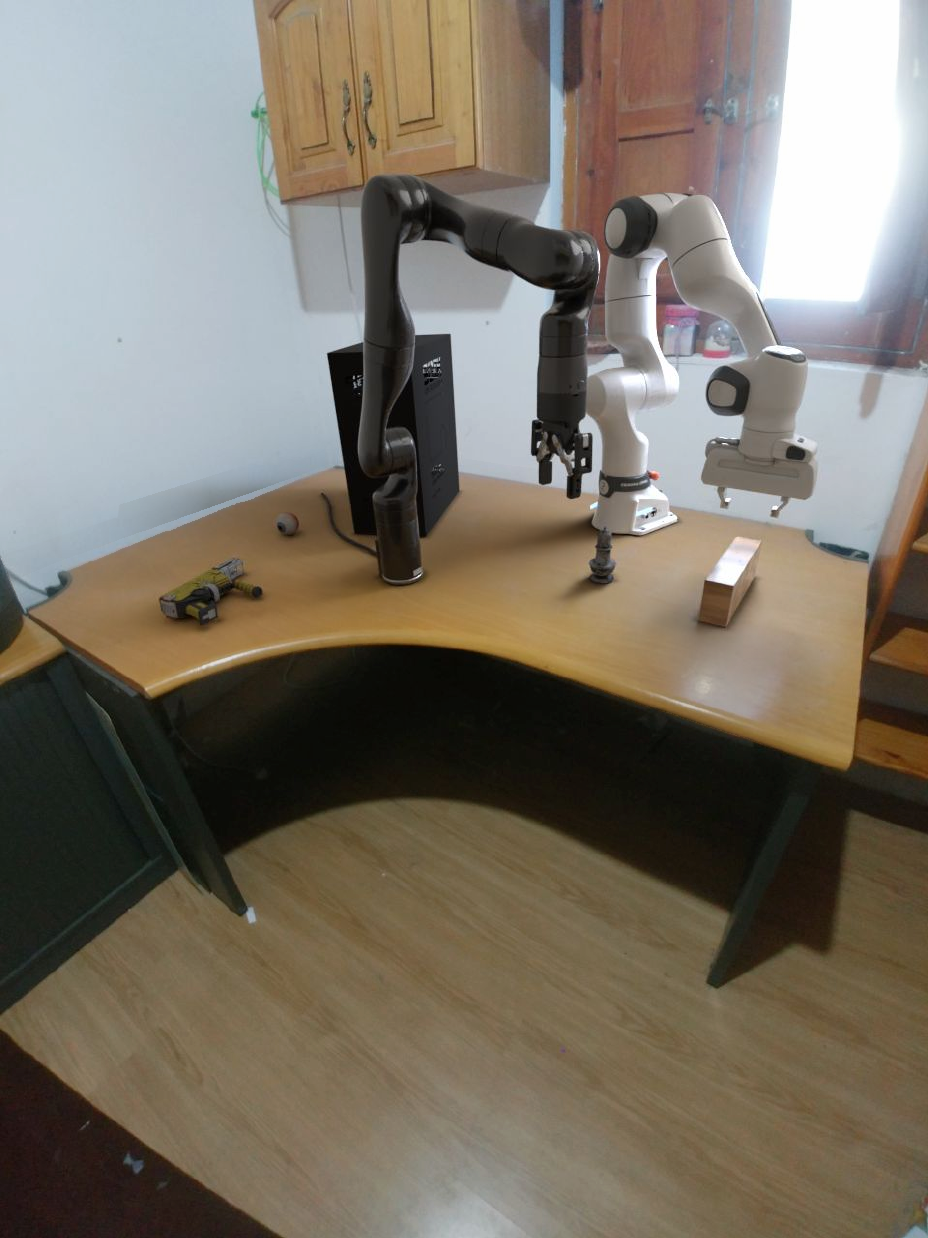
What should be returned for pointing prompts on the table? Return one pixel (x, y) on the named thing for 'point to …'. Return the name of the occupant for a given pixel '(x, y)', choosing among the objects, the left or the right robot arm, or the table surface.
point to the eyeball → (287, 523)
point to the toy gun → (205, 592)
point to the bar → (729, 581)
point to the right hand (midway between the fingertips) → (749, 512)
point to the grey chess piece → (602, 559)
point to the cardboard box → (416, 409)
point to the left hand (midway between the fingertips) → (558, 490)
